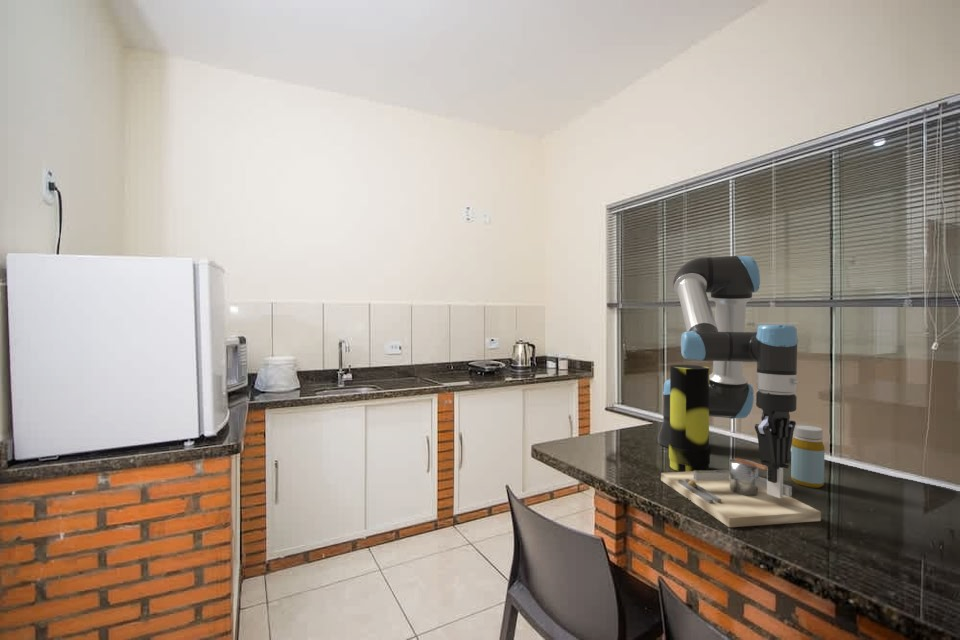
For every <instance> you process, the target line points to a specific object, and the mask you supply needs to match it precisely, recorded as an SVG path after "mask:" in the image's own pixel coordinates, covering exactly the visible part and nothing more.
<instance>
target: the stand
mask: <svg viewBox="0 0 960 640" xmlns="http://www.w3.org/2000/svg"><path fill="white" fill-rule="evenodd" d="M711 471H727V472H729V481H696V480H695V479H694V471H688V472H678V471H674V472H673V471H671V472H660V481H661V482H662V483H664V484H666V485H667V486H669V487H670V488H671V489H673V490H675V491H676V492H677V493H679V494H680V495H682V497H685V498H686V499H687V498H688V499H687V500H689V501H690V500H691V501H690V502H692V503H693V504H695V505H696V506H697V507H699V508H700V509H702V510H703V511H705V512H706V513H708V514H709V515H711V516H712V517H713V518H715V519H717V521H720V522H721V523H722V524H724V525H725V526H727V527H728V528H738V527H753V526H754V527H755V526H769V525H782V524H783V525H784V524H794V523H795V524H796V523H809V522H822V521H821V520H822V511H820V510H819V509H816V508H814V507H812V506H811V505H808V504H807V503H804V502H802V501H800V500H799V499H796V498H794V497H792V496H790V497H788V496H785V495H783V497H782V498H777V497H774V496H771V495H768V494H767V490H766V489H763V488H760V487H758V495H754V496H749V495H742V494H738V493H736V492H733V491H732V490H730V468H729V469H711Z"/></svg>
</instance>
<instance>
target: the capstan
mask: <svg viewBox="0 0 960 640" xmlns="http://www.w3.org/2000/svg"><path fill="white" fill-rule="evenodd" d="M729 469H730V490H732V491H733V492H736V493H738V494H742V495H749V496H754V495H758V487H760V488H763V489H766V490H767V478H765V477H761V476H760V475H759V472H760V469H761V470H767V466H765V465H762V464H761V463H758V462H755V461H753V460H749V459H746V458H745V459H744V458H740V457H734V458H731V459H730V460H729ZM711 470H712V469H711ZM711 470H694V479H695V480H696V481H729V472H727V471H711ZM792 491H793V486H791V485H788V484H785V483H783V495H785V496H788V497H792V494H793V492H792Z"/></svg>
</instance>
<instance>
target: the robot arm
mask: <svg viewBox="0 0 960 640" xmlns="http://www.w3.org/2000/svg"><path fill="white" fill-rule="evenodd" d="M672 282H673V284H672V285H673V287H672V288H673V291H674V293H675V295H676V296H677V297H678V298H679V303H680V307H681V311H682V316H683V321H684V324H685V325H684V326H685V331H684V332H682V333H681V337H680V352H681V356H682V357H683V358H684V359H685V360H691V361H698V362H702V361H703V362H705V361H706V362H710V361H711V362H712V361H713V362H712V363H713V364H712V365H713V366H712V373H709V418H724V419H726V418H727V419H731V420H733V419H746V418H748V416H749V415H750V414H751V413H752V409H753V405H754V400H755V398H754V397H755V396H756V403H755V405H756V407H757V408H758V409H761V410H762V415H761V417H760V418H761V422H760V424H758V423H756V424H754V430H755V432H756V436H757V444H758V450H759V457H760V464H762V465H765V466H767V469H766V479H767V494H768V495H771V496H774V497H777V498H782V497H783V484H784V469H789V465H788V464H789V463H790V460H791V445H792V440H793V438H794V433H793V431H794V428H795V425H797V423H796V420H791V416H790V413H793V412H795V411H797V397H798V396H797V395H796V394H794V393H796V392H797V385H798V384H799V380H798V379H797V373H798V367H797V366H798V343H799V339H798V330H797V327H796V326H795V325H794V324H759V325H758V327H757V331H751V332H750V331H745V330H746V329H745V328H746V314H747V313H746V312H747V311H746V310H747V303H748V302H749V301H750V300H751V299H753V293H757V292H758V291H759V290H760V285H761V275H760V270H759V266H758V263H757V261H756V259H755V258H754V257H751V256H749V255H730V256H729V255H726V256H709V257H707V256H704V257H703V256H702V257H697V258H693V259H691V260H688V261H687V262H686V263H685V264H683V265H682V266H681V267H680V268H679V269H678V270H677V271H676V273H675V274H674V278H673V281H672ZM707 293H710V299H711V300H713V302H714V303H715V312H714V313H715V314H714V313H713V310H712V306H711V303H710V301H709V298H708V294H707ZM744 363H756V381H755V382H756V385H755V387H756V389H757V390H758V391H757V392H756V393H755V394H756V395H755V396H754V387H753V386H752V385H751V384H749V383H748V381H749V380H748V379H747V378H746V377H745V376H744V375H743V373H744V372H743V371H744ZM662 394H663V408H662V409H663V412H662V413H663V419H662V423H661V425H660V428H659V432H658V434H657V442H658V444H659V445H661V446H663V447H666V448H668V449H669V442H670V378H669V379H667V380H665V381H664V383H663V392H662Z"/></svg>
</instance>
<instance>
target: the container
mask: <svg viewBox="0 0 960 640" xmlns="http://www.w3.org/2000/svg"><path fill="white" fill-rule="evenodd" d="M669 367H670V370H669V371H670V372H669V373H670V375H669V377H670V378H669V379H670V442H669V448H668V459H669V467H670V468H671V469H672V470H674V472H688V471H694V470H709V467H710V464H711V448H710V417H709V375H710V367H708V366H704V365H692V364H673V365H670V366H669Z"/></svg>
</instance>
